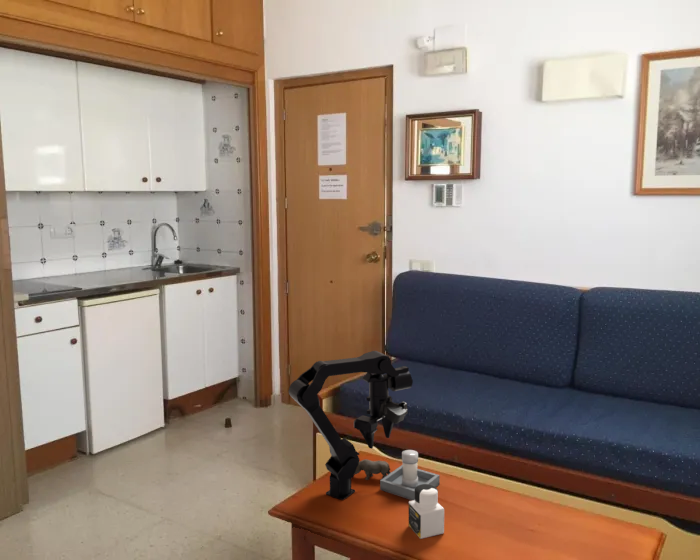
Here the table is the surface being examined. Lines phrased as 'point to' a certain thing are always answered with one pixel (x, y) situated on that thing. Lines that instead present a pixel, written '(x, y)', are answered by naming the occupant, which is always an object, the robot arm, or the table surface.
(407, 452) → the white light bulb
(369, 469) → the rhino figurine
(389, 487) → the parts tray
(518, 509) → the table surface
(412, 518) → the medicine bottle
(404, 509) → the table surface
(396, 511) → the table surface
